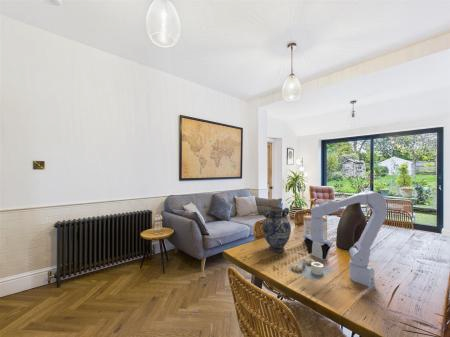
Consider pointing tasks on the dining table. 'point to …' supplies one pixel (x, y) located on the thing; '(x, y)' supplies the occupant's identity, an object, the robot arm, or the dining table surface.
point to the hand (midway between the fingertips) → (317, 256)
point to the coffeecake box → (308, 226)
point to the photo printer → (317, 250)
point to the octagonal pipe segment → (317, 268)
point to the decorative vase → (276, 228)
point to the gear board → (308, 269)
